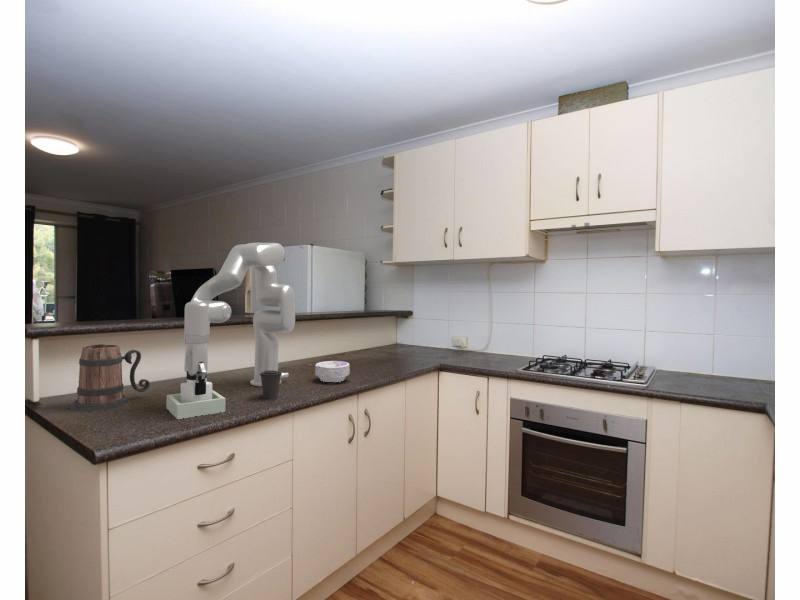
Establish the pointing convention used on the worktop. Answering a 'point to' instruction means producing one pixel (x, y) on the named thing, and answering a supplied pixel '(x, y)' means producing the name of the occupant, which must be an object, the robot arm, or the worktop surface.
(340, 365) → the white ceramic bowl
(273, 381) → the coffee cup
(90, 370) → the tankard
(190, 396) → the medicine bottle
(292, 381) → the worktop surface
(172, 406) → the box
